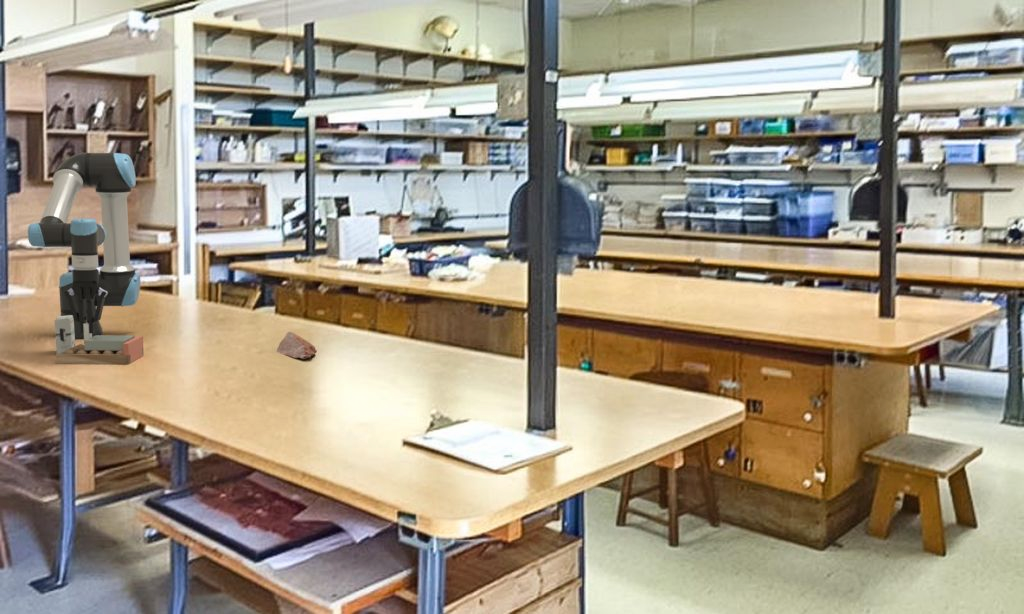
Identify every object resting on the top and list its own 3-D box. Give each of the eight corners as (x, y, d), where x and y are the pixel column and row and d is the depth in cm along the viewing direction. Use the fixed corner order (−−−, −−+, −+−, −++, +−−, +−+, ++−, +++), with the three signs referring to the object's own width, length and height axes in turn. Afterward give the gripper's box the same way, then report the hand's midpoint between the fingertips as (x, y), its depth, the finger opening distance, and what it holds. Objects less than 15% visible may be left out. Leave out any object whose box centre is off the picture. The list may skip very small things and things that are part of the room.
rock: (293, 358, 313) (314, 335, 316) (270, 348, 334) (290, 326, 336) (315, 379, 318) (336, 355, 320) (291, 367, 338) (311, 345, 341)
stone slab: (96, 344, 317) (96, 335, 317) (134, 344, 318) (134, 335, 317) (84, 350, 307) (84, 340, 307) (124, 350, 308) (123, 340, 307)
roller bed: (73, 355, 319) (73, 343, 319) (143, 355, 321) (143, 343, 320) (56, 363, 305) (55, 351, 305) (129, 364, 307) (128, 351, 306)
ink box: (59, 350, 326) (57, 315, 325) (75, 350, 328) (74, 314, 326) (55, 355, 318) (54, 319, 317) (72, 355, 320) (71, 318, 318)
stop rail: (138, 355, 320) (137, 335, 320) (143, 355, 321) (143, 336, 320) (123, 364, 306) (123, 343, 306) (129, 364, 307) (128, 343, 306)
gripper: (59, 269, 305) (62, 345, 308) (102, 270, 305) (105, 345, 309) (68, 267, 312) (71, 341, 315) (110, 267, 313) (113, 341, 316)
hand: (88, 343), depth 312 cm, fingers closed
